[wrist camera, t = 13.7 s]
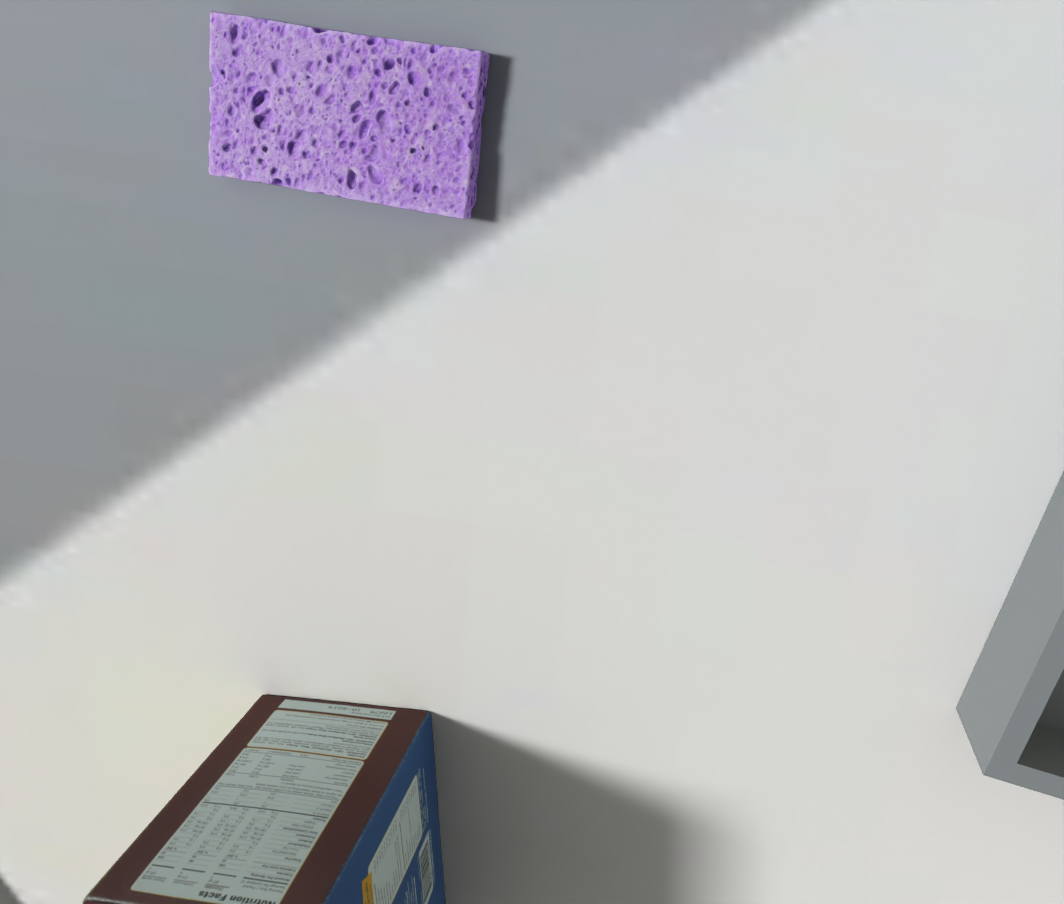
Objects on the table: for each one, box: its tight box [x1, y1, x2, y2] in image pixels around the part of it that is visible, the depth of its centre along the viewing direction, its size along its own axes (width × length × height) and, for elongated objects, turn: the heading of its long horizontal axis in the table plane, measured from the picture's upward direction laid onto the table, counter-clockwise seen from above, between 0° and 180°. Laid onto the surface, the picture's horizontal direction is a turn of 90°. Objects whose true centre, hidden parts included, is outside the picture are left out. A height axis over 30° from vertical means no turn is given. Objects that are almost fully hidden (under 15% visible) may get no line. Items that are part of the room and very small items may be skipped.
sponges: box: [209, 12, 490, 219], centre depth 40 cm, size 7×13×2 cm, turn 81°
